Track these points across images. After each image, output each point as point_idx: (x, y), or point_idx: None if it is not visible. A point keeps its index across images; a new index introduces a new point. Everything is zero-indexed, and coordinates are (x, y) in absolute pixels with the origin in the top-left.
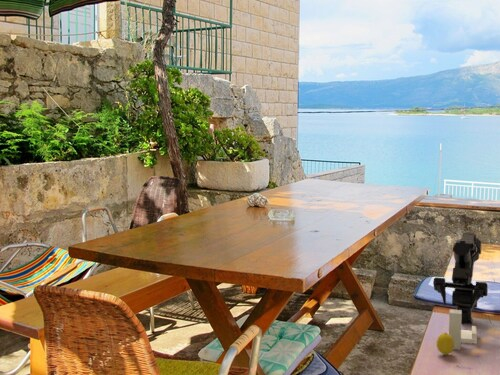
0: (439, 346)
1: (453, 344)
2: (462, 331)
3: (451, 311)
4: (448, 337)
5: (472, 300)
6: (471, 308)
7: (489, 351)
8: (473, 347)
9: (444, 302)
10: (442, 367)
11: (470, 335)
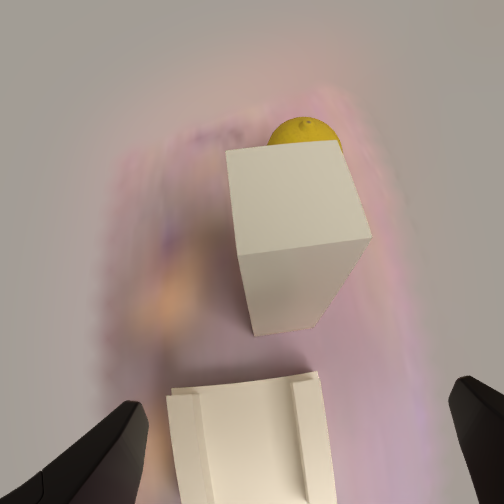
0: None
1: None
2: (265, 489)
3: (332, 175)
4: (287, 121)
5: (84, 465)
6: (134, 402)
7: (120, 314)
8: (189, 336)
9: (479, 387)
10: (281, 113)
11: (212, 445)
